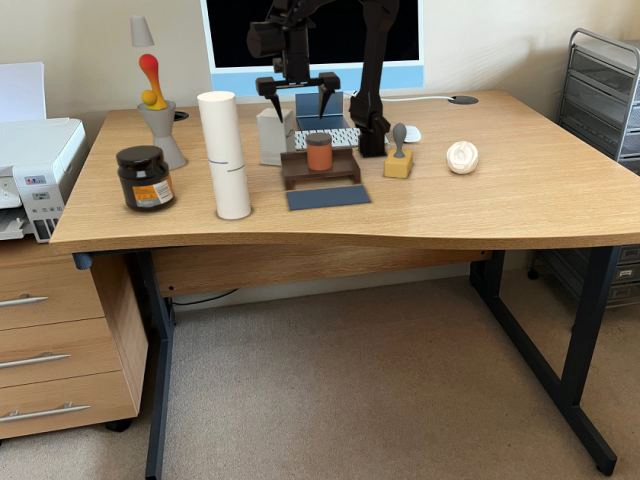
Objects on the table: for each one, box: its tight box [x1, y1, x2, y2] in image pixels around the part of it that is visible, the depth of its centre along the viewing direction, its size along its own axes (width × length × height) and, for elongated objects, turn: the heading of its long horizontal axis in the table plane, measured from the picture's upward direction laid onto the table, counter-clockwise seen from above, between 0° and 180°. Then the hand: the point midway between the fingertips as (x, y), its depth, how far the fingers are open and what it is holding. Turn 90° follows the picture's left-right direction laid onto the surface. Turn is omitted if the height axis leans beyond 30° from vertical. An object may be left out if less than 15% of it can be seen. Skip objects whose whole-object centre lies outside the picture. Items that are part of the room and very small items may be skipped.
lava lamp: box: [129, 14, 187, 171], centre depth 139 cm, size 9×9×35 cm
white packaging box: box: [255, 107, 297, 166], centre depth 148 cm, size 7×7×13 cm
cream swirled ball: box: [445, 140, 480, 175], centre depth 143 cm, size 8×8×8 cm
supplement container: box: [115, 144, 176, 213], centre depth 126 cm, size 10×10×12 cm
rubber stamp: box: [383, 122, 414, 179], centre depth 143 cm, size 10×6×12 cm, turn 169°
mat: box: [286, 184, 371, 211], centre depth 132 cm, size 18×9×1 cm, turn 103°
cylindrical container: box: [196, 90, 252, 220], centre depth 119 cm, size 7×7×25 cm
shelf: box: [280, 146, 362, 191], centre depth 141 cm, size 18×11×5 cm, turn 103°
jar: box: [304, 131, 333, 170], centre depth 137 cm, size 6×6×7 cm
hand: (301, 120), depth 136 cm, fingers open, 9 cm apart
